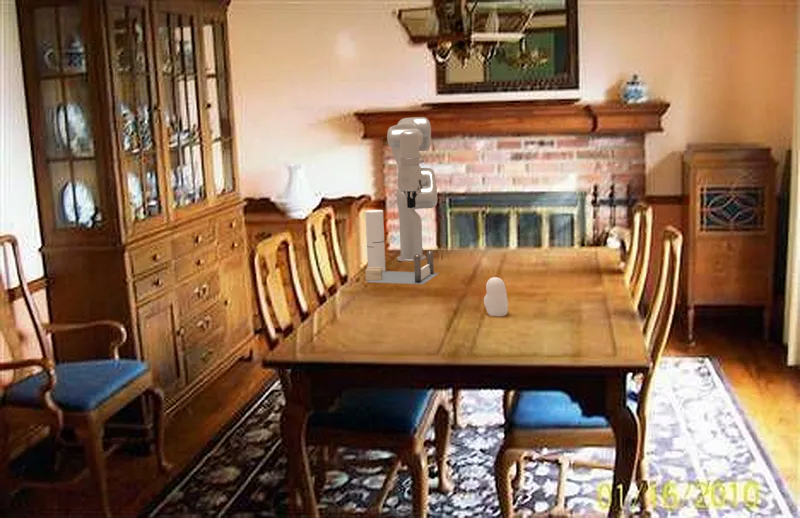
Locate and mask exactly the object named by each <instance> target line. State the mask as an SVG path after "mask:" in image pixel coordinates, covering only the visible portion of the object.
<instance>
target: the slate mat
mask: <svg viewBox="0 0 800 518" xmlns="http://www.w3.org/2000/svg"><path fill="white" fill-rule="evenodd" d="M439 274H440V272H434V274H430V275H428V276H427V277H425V278H424V279H422V280H421V283H415V271H397V270H396V271H395V270H394V271H393V270H390V271H389V270H385V271H382V276H383V277H382V279H381V280H366V283H376V284H377V283H379V284H381V283H382V284H401V285H402V284H406V285H425V284H426V283H427V282H429V281H431V280H432V279H433V278H434V277H436V276H437V275H439Z"/></svg>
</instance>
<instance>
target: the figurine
mask: <svg viewBox="0 0 800 518" xmlns="http://www.w3.org/2000/svg"><path fill="white" fill-rule="evenodd" d="M485 289H486V294H485V296H484V297H483V303H484V308H485V309H486V312H487V314H488V315H489V316H491V317H504V316H506V315H507V314H508V311H509V310H508V309H509V301H508V294H507V289H506V286H505V282H504V280H503V279H502V278H500V277H495V276H494V277H490V278H489V279H488V280H487V282H486V286H485Z"/></svg>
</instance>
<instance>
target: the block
mask: <svg viewBox="0 0 800 518" xmlns="http://www.w3.org/2000/svg"><path fill="white" fill-rule="evenodd" d="M364 271H365V272H364V273H365V281H369V280H381V279H382V277H383V276H382V273H383V271H382V267H368V266H367V267H366V269H364Z"/></svg>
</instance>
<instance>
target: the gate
mask: <svg viewBox="0 0 800 518" xmlns="http://www.w3.org/2000/svg"><path fill="white" fill-rule="evenodd" d="M428 275H430V264H427V263H426V265H424V266H422V267H421V280H422V279H424V278H425V277H427V276H428Z"/></svg>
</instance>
